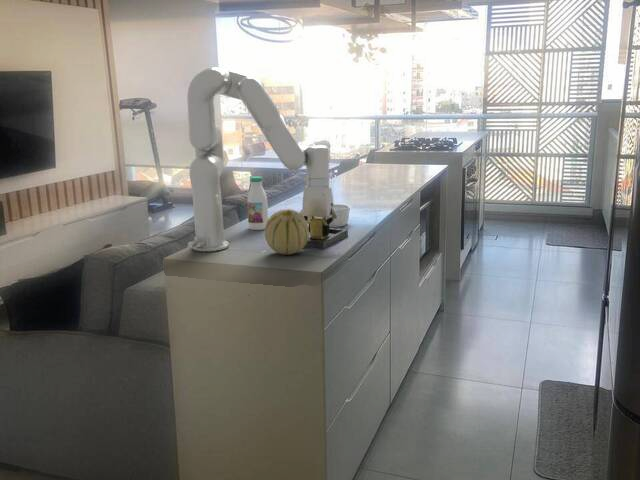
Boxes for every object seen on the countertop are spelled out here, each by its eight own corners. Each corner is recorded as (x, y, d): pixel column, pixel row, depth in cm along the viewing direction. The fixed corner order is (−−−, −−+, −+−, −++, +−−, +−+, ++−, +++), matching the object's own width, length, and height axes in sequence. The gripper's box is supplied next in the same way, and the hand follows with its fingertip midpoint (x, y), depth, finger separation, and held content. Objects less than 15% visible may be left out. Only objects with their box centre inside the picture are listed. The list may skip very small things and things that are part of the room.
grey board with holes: (323, 249, 206) (323, 242, 206) (302, 247, 210) (302, 240, 209) (347, 236, 223) (347, 229, 223) (328, 234, 227) (327, 227, 226)
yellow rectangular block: (322, 239, 209) (321, 219, 207) (310, 238, 211) (309, 218, 209) (327, 236, 213) (327, 217, 211) (316, 235, 215) (315, 216, 213)
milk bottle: (258, 225, 244) (256, 174, 239) (272, 227, 240) (270, 176, 235) (244, 228, 239) (241, 177, 234) (258, 231, 234) (256, 179, 229)
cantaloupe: (290, 245, 212) (288, 202, 209) (319, 253, 202) (318, 208, 198) (255, 254, 203) (253, 209, 199) (284, 262, 192) (282, 215, 189)
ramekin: (311, 222, 247) (311, 205, 245) (341, 219, 252) (341, 202, 250) (324, 229, 235) (324, 211, 233) (355, 225, 240) (355, 208, 238)
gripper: (290, 183, 207) (292, 235, 212) (335, 185, 200) (336, 240, 205) (301, 179, 214) (302, 231, 218) (345, 182, 207) (346, 235, 211)
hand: (319, 234), depth 211 cm, fingers closed on yellow rectangular block, 4 cm apart
